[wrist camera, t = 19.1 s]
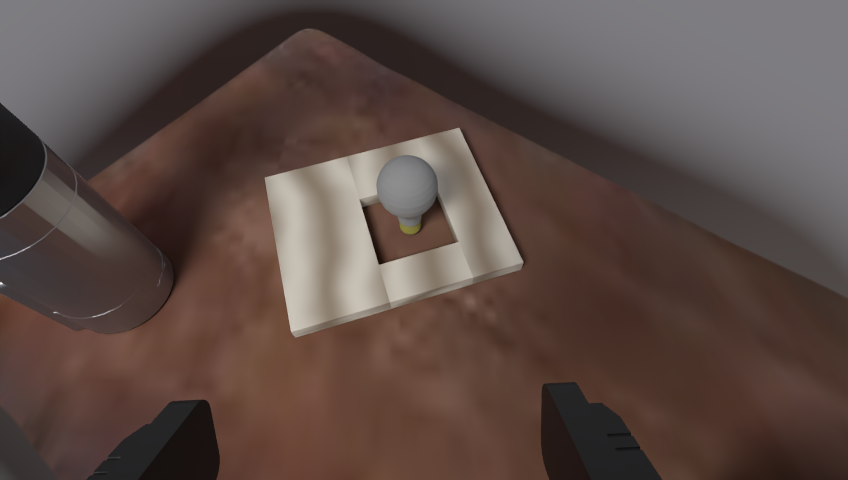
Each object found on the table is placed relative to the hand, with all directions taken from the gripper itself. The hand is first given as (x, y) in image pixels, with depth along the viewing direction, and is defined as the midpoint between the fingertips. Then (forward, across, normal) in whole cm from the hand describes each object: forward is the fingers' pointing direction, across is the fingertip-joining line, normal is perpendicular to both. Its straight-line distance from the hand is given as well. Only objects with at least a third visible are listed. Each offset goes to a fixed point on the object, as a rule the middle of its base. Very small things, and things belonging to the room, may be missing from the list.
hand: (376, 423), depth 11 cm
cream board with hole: (+37, +3, +3) cm, 37 cm away
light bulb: (+37, 0, +4) cm, 37 cm away
